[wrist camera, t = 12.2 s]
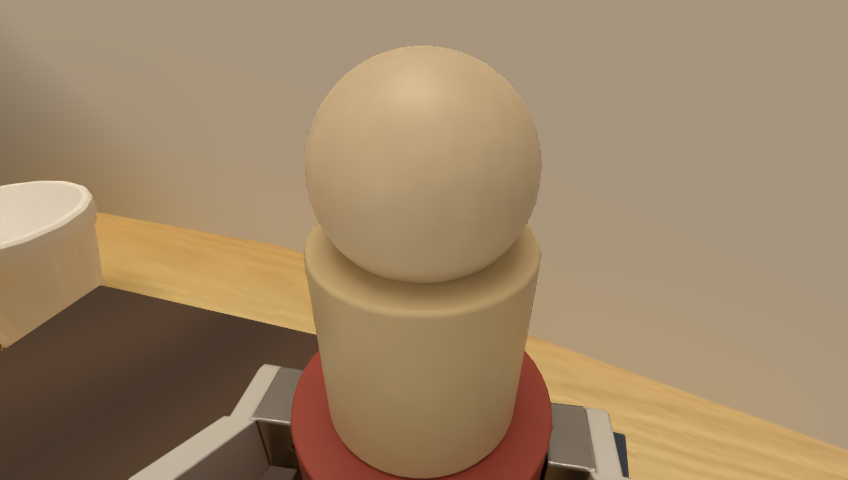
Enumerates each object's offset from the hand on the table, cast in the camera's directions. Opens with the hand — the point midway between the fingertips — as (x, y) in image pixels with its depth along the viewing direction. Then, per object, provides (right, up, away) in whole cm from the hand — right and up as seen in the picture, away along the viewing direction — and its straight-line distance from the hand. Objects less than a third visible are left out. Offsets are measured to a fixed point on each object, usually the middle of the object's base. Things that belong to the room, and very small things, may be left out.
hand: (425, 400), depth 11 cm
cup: (-26, -2, +21) cm, 34 cm away
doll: (0, -6, +3) cm, 7 cm away
